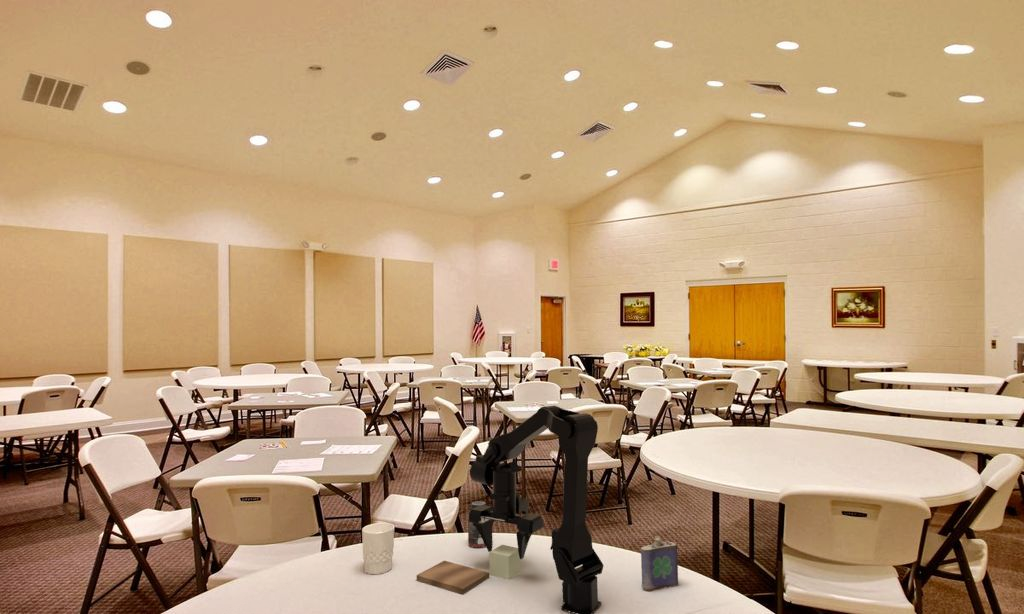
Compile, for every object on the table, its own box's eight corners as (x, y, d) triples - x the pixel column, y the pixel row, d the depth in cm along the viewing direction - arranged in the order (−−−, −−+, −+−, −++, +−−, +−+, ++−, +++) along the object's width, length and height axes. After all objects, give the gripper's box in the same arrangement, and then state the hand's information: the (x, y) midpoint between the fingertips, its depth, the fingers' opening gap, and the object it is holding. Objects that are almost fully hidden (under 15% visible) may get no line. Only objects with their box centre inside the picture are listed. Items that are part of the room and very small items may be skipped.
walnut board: (489, 577, 122) (489, 572, 122) (463, 594, 114) (463, 588, 114) (444, 565, 130) (444, 560, 130) (416, 580, 122) (416, 575, 122)
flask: (646, 592, 113) (644, 542, 114) (638, 586, 116) (636, 537, 117) (681, 585, 116) (679, 536, 117) (673, 580, 119) (671, 532, 120)
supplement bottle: (486, 549, 140) (486, 506, 141) (465, 547, 142) (465, 505, 143) (491, 541, 146) (491, 500, 147) (471, 540, 147) (471, 499, 148)
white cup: (359, 566, 131) (359, 525, 131) (390, 560, 134) (390, 520, 135) (364, 578, 123) (364, 535, 124) (397, 571, 127) (397, 529, 128)
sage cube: (521, 572, 125) (520, 548, 126) (508, 580, 121) (508, 556, 121) (502, 567, 128) (502, 544, 129) (489, 575, 124) (489, 551, 124)
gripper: (553, 486, 128) (555, 551, 127) (492, 477, 138) (493, 537, 137) (530, 496, 119) (532, 567, 117) (466, 487, 129) (467, 551, 127)
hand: (505, 554), depth 125 cm, fingers open, 9 cm apart
